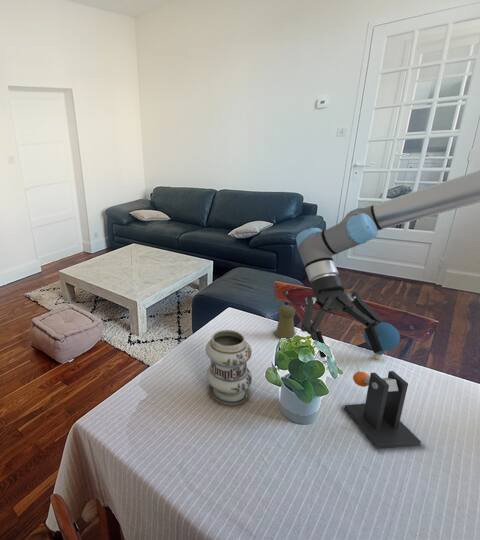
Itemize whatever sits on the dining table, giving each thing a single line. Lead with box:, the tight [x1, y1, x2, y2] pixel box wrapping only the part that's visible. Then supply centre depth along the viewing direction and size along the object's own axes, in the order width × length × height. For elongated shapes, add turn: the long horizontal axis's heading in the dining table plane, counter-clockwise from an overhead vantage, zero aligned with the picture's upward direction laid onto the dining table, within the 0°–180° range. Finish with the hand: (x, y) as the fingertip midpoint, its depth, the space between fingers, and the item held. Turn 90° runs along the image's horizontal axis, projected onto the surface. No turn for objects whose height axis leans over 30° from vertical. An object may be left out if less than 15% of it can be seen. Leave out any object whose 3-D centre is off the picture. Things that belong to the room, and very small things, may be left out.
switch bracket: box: [343, 370, 422, 450], centre depth 77 cm, size 12×9×14 cm
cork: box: [275, 304, 296, 340], centre depth 116 cm, size 6×6×11 cm
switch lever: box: [352, 371, 398, 392], centre depth 80 cm, size 12×4×4 cm
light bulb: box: [363, 321, 401, 360], centre depth 99 cm, size 8×8×12 cm
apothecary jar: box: [204, 329, 253, 406], centre depth 92 cm, size 12×12×18 cm
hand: (351, 354), depth 87 cm, fingers open, 13 cm apart
